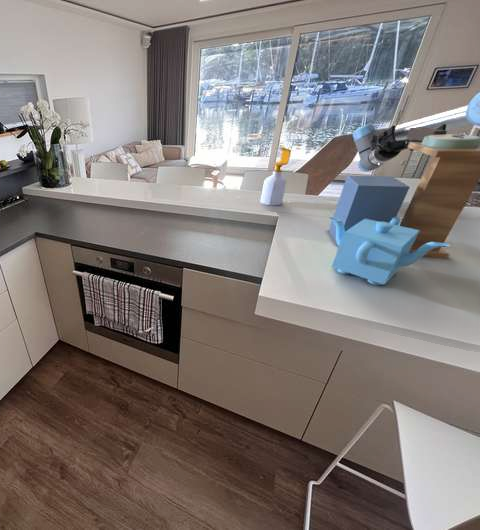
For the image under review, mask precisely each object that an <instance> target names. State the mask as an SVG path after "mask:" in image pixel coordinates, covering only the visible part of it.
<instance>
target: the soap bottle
mask: <svg viewBox="0 0 480 530" xmlns="http://www.w3.org/2000/svg"><path fill="white" fill-rule="evenodd" d="M276 149H279V150H281V155H280V156H281V157H280V160H279V161H278V162H272V163H271V165H273V166H274V167H275V169H273V170H272V174H271V175H270V176H267V177H266V178H265V179H264V181H263V185H262V190H261V195H260V200H259V202H260V203H261V204H262V205H265V206H272V207H273V206H276V207H277V206H280V205H282V203H283V200H284V196H285V191H286V187H287V180H286V178H285V177H284V176H282V172H283V170H282V169H281V168H282V167H283V166H285V165H288V163H289V161H290V156H291V150H290V149H288V148H285V147H281V146H276Z"/></svg>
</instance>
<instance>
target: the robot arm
mask: <svg viewBox="0 0 480 530" xmlns="http://www.w3.org/2000/svg"><path fill="white" fill-rule="evenodd" d="M474 125H475V126H478V127H480V92H478V93H476V94H475V96H474V97H473V98H471V100H470V101H469V102H468V104H467V105H466V104H465V105H462V106H459V107H456V108H455V107H454V108H452V109H449V110H446V111H441V112H438V113H436V114H431V115H427V116H424V117H421V118H418V119H414V120H410V121H406V122H403V123H400V124H396V125H392V126H388V127H385V128H376V127H375V126H374V124H373V123H369V124H364V125H363V126H360V127H359V128H357V129H355V130H354V131H353V132H352V137H353V142H354V144H355V148H356V150H357V153H358V156H359V161H358V163H357V167H358V169H359V170H360V171H362V172H365V173H366V172H368V173H369V172H372V171H375V170H376V169H379V168H380V167H381V166H383V165H384V164H386V163H388V162H389V161H391V160H393V159H394V158H396V157H397V156H398V155H399V154H400V153H401V152H402V151H404V150H409V151H410V152H412V151H414V150H413V149H411V148H408V144H409V142H422V141H420V140H415V139H410V138H406V137H407V135H408V132H409V130H410V128H411V127H424V128H431V129H438V130H445V131H447V132H448V131H453V130H458V129H461V128H465V127H466V128H467V127H470V126H474Z"/></svg>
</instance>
